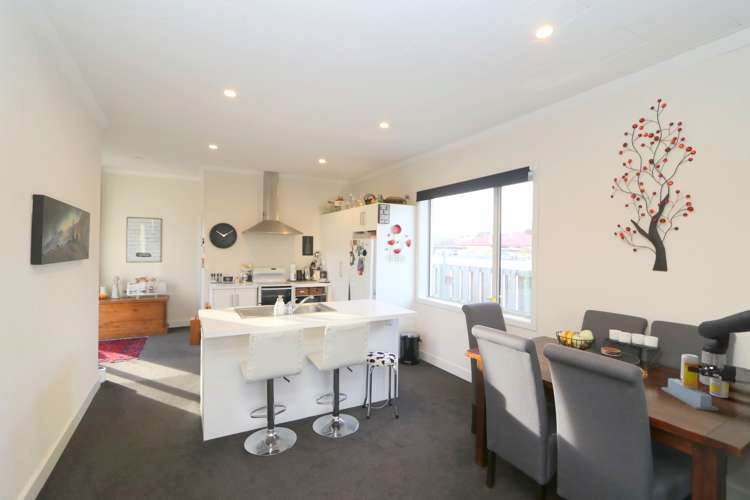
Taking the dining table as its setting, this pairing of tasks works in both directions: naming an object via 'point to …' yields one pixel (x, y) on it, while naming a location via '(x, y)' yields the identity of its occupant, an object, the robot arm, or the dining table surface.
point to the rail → (689, 395)
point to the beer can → (688, 377)
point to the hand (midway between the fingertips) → (687, 366)
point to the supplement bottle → (719, 387)
